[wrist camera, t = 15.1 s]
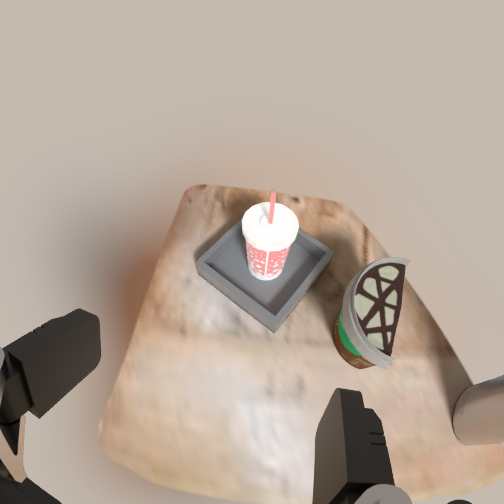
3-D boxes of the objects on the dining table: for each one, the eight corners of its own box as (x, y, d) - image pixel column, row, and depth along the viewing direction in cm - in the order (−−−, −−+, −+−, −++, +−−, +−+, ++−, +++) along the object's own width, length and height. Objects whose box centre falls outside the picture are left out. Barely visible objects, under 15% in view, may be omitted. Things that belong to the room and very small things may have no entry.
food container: (337, 279, 39) (361, 237, 31) (378, 294, 38) (410, 256, 30) (310, 366, 33) (333, 345, 25) (357, 380, 32) (393, 364, 24)
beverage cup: (290, 247, 41) (306, 173, 29) (287, 288, 38) (305, 221, 26) (245, 242, 41) (245, 166, 29) (239, 282, 38) (236, 212, 26)
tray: (329, 262, 41) (334, 251, 38) (274, 333, 35) (276, 325, 33) (257, 215, 45) (258, 202, 42) (198, 273, 39) (194, 262, 37)
